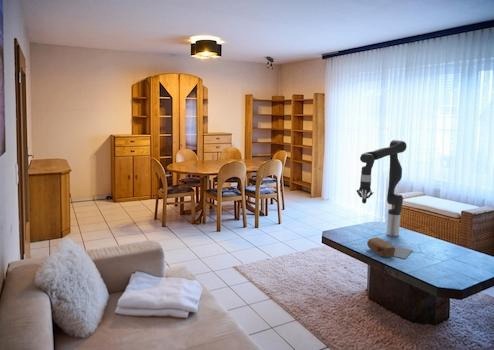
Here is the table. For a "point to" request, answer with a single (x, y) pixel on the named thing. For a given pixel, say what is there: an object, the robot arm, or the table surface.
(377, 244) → the rough sandstone rock
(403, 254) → the mat
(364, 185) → the robot arm
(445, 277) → the table surface
